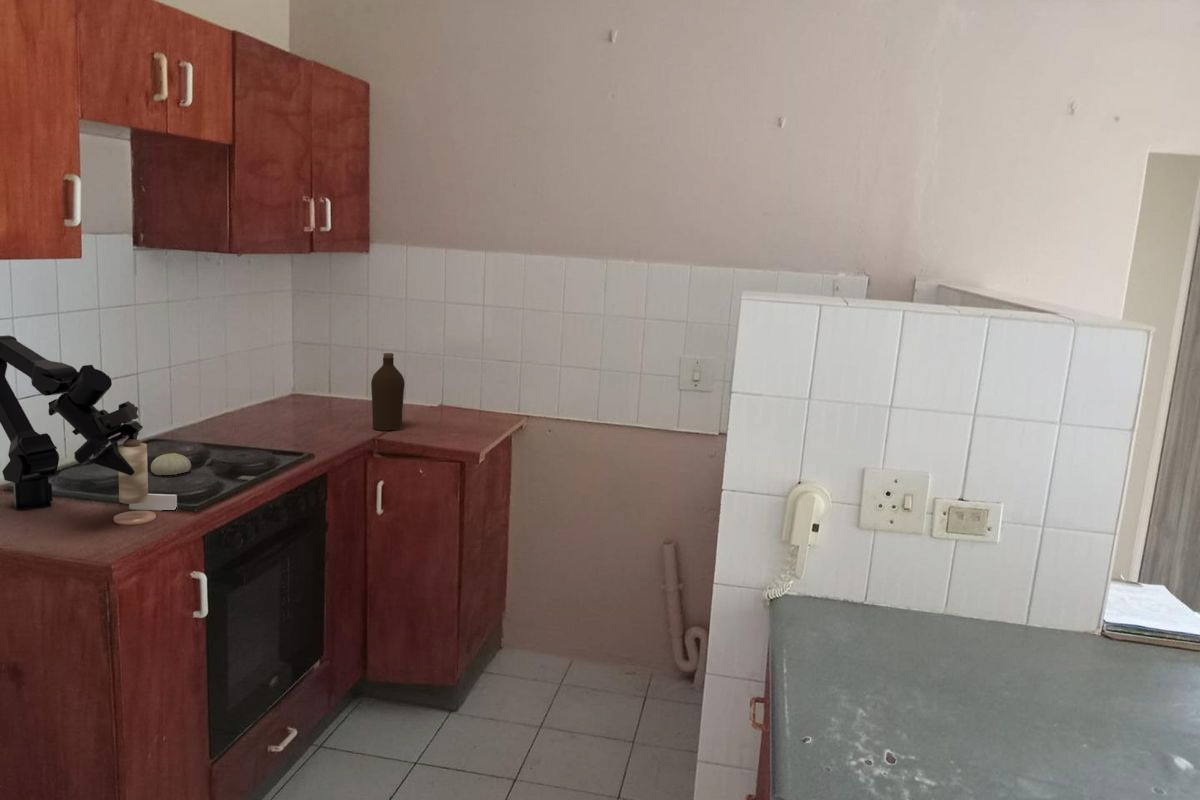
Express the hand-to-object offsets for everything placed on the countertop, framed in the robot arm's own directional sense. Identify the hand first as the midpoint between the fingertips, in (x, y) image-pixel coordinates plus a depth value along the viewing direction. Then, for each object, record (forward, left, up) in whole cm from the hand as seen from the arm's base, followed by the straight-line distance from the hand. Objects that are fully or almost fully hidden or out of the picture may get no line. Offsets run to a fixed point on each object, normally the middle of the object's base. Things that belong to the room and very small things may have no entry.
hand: (139, 470), depth 187 cm
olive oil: (+88, +60, -11) cm, 107 cm away
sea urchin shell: (+15, +35, -11) cm, 40 cm away
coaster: (-1, +1, -11) cm, 11 cm away
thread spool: (-1, +1, -7) cm, 7 cm away
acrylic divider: (+4, +6, -11) cm, 13 cm away
